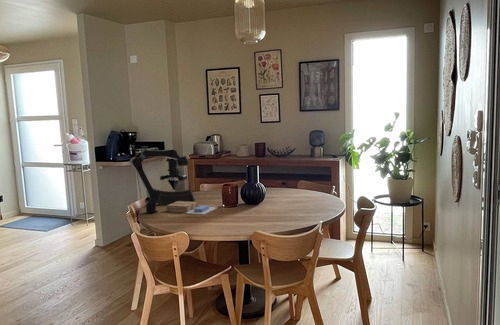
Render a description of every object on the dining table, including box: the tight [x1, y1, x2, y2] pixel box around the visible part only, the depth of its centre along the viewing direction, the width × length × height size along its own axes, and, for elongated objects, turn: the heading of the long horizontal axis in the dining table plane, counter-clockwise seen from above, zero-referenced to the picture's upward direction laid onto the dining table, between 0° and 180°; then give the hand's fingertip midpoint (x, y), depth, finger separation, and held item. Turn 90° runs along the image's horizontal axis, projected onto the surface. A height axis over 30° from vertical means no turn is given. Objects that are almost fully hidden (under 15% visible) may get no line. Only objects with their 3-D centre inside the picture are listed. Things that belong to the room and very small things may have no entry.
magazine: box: [156, 188, 196, 205], centre depth 294 cm, size 17×3×30 cm
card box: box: [194, 205, 210, 212], centre depth 269 cm, size 9×6×2 cm, turn 157°
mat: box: [186, 206, 218, 215], centre depth 269 cm, size 18×14×1 cm
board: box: [166, 201, 199, 214], centre depth 275 cm, size 14×16×4 cm
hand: (174, 189), depth 278 cm, fingers closed
